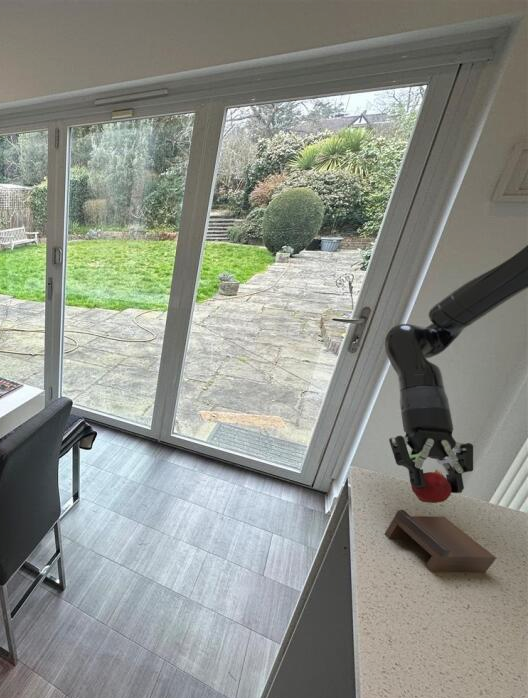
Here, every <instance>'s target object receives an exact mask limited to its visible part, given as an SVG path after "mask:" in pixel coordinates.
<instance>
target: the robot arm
mask: <svg viewBox="0 0 528 698" xmlns="http://www.w3.org/2000/svg"><path fill="white" fill-rule="evenodd" d="M526 290H528V244H527V245H525V246H524V247H523V248H522V249H520V250H519V251H518V252H516V253H515V254H514V255H512V256H510V257H509V258H507V259H506V260H504V261H503V262H502V263H500V264H498V265H496V266H494V267H492V268H491V269H488V270H487V271H485V272H483V273H480V274H479V275H477V276H475V277H474V278H472V279H470V280H468V281H467V282H466V283H463V284H462V285H461V286H459V287H458V288H456V289H455V290H453V291H452V292H450V293H449V294H448V295H447V296H445V297H444V298H442V299H441V300H439V302H437V303H436V304H434V305H433V306H432V307H431V308H430V309H429V310H428V312H427V317H428V320H429V321H430V322H431V324H429V325H427V326H426V327H425V326H419V325H416V324H410V323H400V324H397V325H393V326H392V327H391V328H389V330H388V331H387V332H386V334H385V336H384V340H383V347H384V351H385V354H386V356H387V358H388V360H389V363H390V365H391V367H392V368H393V370H394V372H395V373H396V375H397V383H398V390H399V408H400V414H401V421H402V428H403V432H404V433H405V435H404V436H403V435H397V436H392V437H390V438H389V439H388V441H389V444H390V448H391V451H392V454H393V457H394V460H395V461H394V462H395V464H396V465H397V466H402V467H404V468H406V469H407V471H408V477H409V482H410V485H411V484H412V485H413V487H414V488H425V480H424V473H425V472H424V469H423V468H422V467H423V464H424V463H425V460H427V459H428V458H430V459H433V460H435V461H436V462H437V464H439V465H441V467H442V468H444V470H445V472H446V474H445V478H446V479H447V480H448V482H449V483H450V485H451V488H452V492H451V494H461V493H463V491H464V490H465V486H464V480H463V474H465V473H468V472H469V473H470V472H473V471H474V445H473V443H471V442H466V443H462V442H458V441H456V440H455V438H454V437H453V432H454V424H453V419H452V414H451V408H450V407H451V406H450V403H449V398H448V395H447V393H446V389H445V384H444V379H443V374H442V370H441V368H440V367H439V366H438V365H437V364H435V363H433V362H431V361H430V360H428V359H430V358H433V357H436V356H438V355H440V354H441V353H443V352H444V351H446V349H447V348H448V347H450V346H451V345H452V343H453V342H455V340H457V338H458V337H459V336H460V335H461V334H462V333H463V331H464V330H465V329H466V328H468V327H470V326H471V325H473V324H475V323H477V322H478V321H479V320H481V319H482V318H484V317H485V316H487V315H489V314H490V313H491V312H493V311H494V310H496V309H497V308H499V307H500V306H502V305H503V304H505V303H506V302H508V301H510V300H511V299H513V298H514V297H516V296H518V295H519V294H521V293H522V292H524V291H526ZM407 445H408V447H409V448H410V451H409V449H408V447H407Z"/></svg>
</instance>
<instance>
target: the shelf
mask: <svg viewBox="0 0 528 698" xmlns="http://www.w3.org/2000/svg"><path fill="white" fill-rule="evenodd" d="M384 535H385V536H386V537H387V538H388V539H407V540H408V539H410V540H411V539H412V540H414V541H415V542H416V543H417V544H418V545H419V546H420V547H422V548H423V549H424V550H425V551H426V552H427V553H428V554H429V555H430V556H431V557H430V558H429V559H428V561H427V562H426V564H425V566H424V568H426V569H427V570H428V571H429V572H431V573H464V574H465V573H467V574H468V573H469V574H470V573H472V574H485V573H487V572H488V570H489V569H490V567H491V566H492V565H493V564H494V562H495V561H496V559H497V557H496V556H495V555H494V554H493V553H491V552H490V551H489V550H487V549H486V548H485V547H484V546H482V545H481V544H480V543H479V542H478V541H476V540H475V539H474V538H472V537H471V536H470V535H469V534H467V533H466V532H465V531H464V530H462V529H461V528H460V527H458V526H457V525H456V524H454V523H453V522H452V521H451V520H449V519H448V518H447V517H446V516H433V515H432V516H428V515H425V516H424V515H410V514H409V513H408V512H407V511H405V510H404V509H398V510H397V511H396V513H395V515H394V517H393V518H392V520H391V522H390V523H389V524H388V527H387V528H386V530H385V532H384Z"/></svg>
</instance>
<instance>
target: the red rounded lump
mask: <svg viewBox="0 0 528 698" xmlns="http://www.w3.org/2000/svg"><path fill="white" fill-rule="evenodd" d="M423 473H424V480H425V488H414V487H413V485H412V484H411V483H410V487H411V491H412V492H413V494H414V495H415V496H416V498H418V500H419V501H420V502H422V503H427V504H436V503H443V502H445V501H446V500H448V499H449V498H450V496H451V494H452V493H451V492H452V488H451V485H450V483H449V482H448V480H447V477H446V476H445V475H444V474H443V473H442V471H441V470H440V469H435V471H434V472H433V471H428V472H423Z"/></svg>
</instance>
